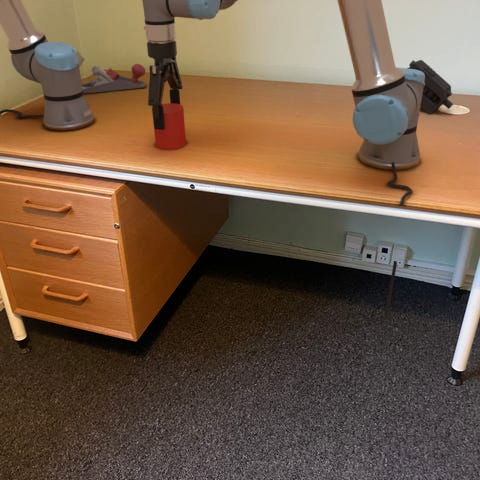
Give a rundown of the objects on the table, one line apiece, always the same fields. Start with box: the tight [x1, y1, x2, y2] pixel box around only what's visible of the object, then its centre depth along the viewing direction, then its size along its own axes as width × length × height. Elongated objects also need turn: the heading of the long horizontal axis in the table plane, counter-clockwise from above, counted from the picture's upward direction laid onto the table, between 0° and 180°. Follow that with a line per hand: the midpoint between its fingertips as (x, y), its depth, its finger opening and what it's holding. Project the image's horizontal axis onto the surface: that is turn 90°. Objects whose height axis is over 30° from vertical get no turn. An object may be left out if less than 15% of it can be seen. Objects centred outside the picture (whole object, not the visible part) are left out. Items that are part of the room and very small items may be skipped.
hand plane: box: [75, 49, 146, 95], centre depth 194 cm, size 7×31×15 cm, turn 107°
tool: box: [407, 59, 454, 114], centre depth 170 cm, size 6×19×15 cm, turn 51°
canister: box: [151, 102, 187, 150], centre depth 148 cm, size 9×9×10 cm
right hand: (168, 120), depth 147 cm, fingers open, 13 cm apart
